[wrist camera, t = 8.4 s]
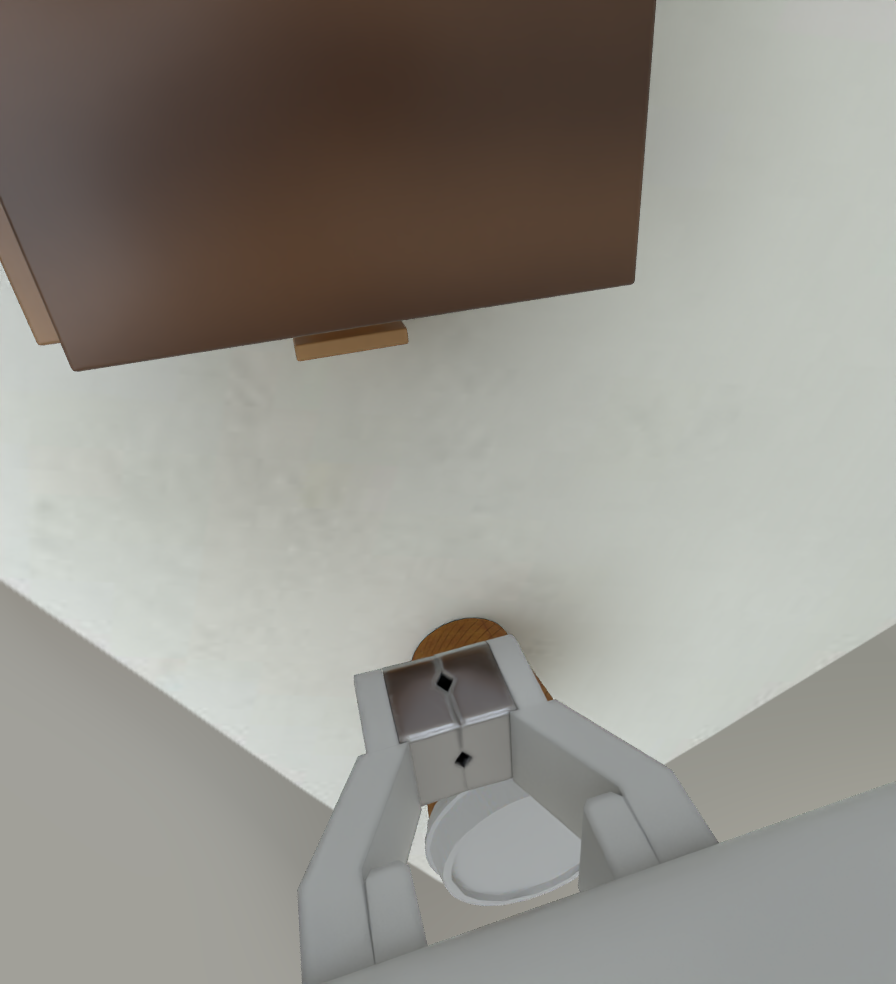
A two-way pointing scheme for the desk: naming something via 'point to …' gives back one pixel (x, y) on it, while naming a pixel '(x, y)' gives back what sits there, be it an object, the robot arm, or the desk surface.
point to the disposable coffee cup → (494, 820)
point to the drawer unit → (311, 163)
